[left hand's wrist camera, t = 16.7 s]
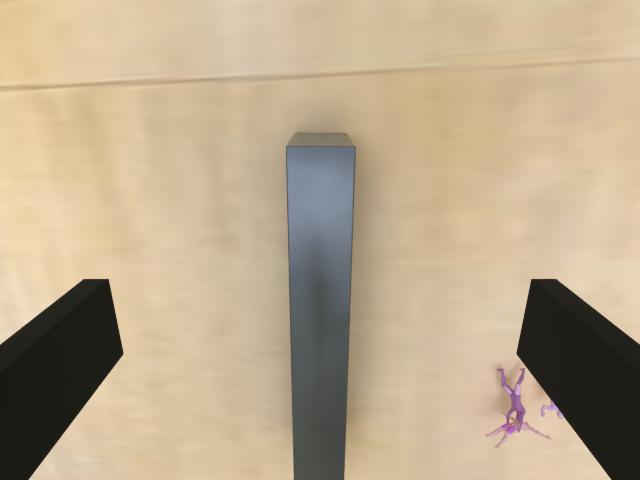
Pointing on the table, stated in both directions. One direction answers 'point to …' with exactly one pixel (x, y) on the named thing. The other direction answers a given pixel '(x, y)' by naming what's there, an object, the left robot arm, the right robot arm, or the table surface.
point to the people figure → (518, 411)
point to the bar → (320, 297)
